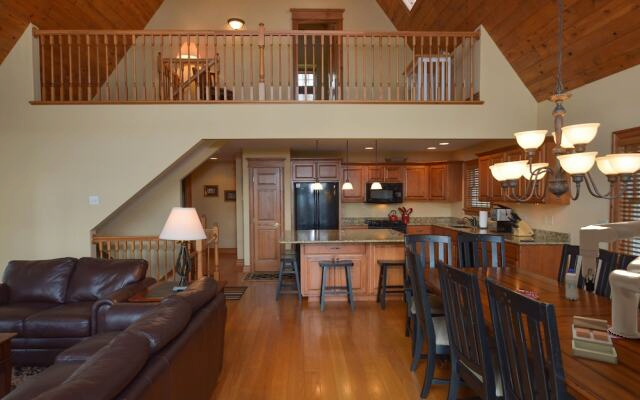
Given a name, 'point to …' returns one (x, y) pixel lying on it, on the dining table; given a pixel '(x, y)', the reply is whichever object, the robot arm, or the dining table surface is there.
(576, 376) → the dining table surface
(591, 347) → the box
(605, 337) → the tile
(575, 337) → the bench board
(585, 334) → the tile
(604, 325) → the tan long block
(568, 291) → the bottle
